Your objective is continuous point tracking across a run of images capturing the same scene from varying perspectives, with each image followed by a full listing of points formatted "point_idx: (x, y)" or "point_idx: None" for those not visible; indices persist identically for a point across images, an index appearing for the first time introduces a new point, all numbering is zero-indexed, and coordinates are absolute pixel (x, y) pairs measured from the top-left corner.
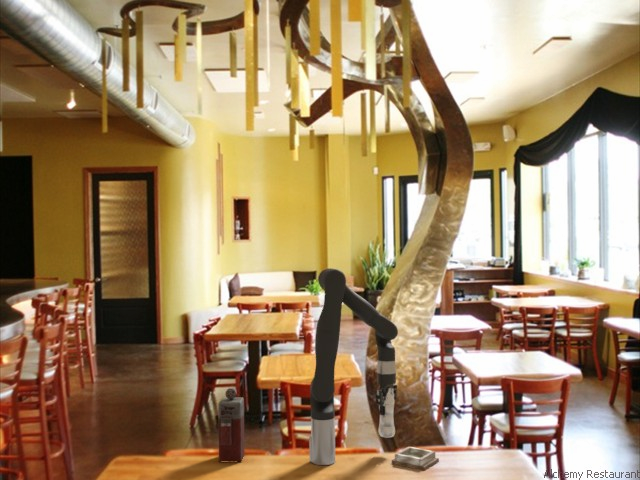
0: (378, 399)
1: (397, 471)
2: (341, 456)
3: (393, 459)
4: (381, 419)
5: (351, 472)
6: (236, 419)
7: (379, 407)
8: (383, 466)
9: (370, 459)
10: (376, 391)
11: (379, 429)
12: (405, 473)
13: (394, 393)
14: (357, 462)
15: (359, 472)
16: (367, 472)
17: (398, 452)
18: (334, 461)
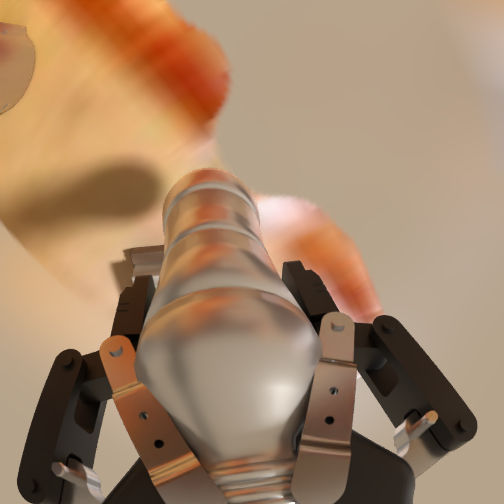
0: (157, 345)
1: (97, 293)
2: (73, 63)
3: (141, 253)
4: (164, 248)
5: (2, 207)
6: None
7: (158, 289)
8: (93, 244)
9: (112, 167)
10: (28, 488)
11: (166, 201)
12: (104, 313)
13: (385, 400)
14: (60, 155)
15: (16, 223)
16: (31, 239)
17: (154, 277)
18: (10, 107)
